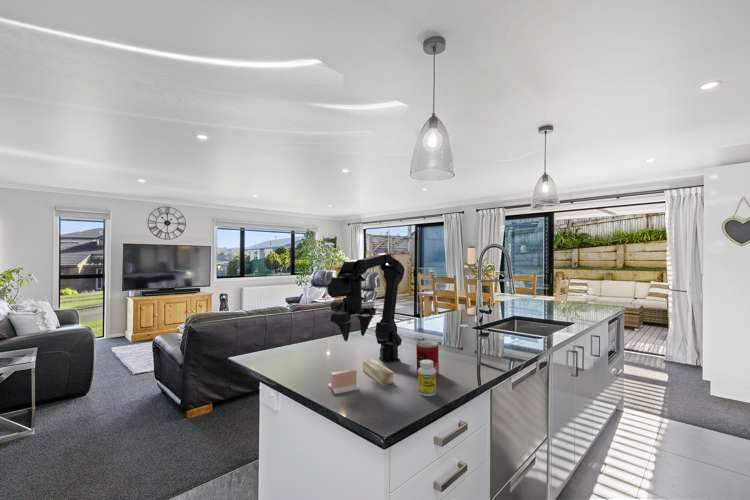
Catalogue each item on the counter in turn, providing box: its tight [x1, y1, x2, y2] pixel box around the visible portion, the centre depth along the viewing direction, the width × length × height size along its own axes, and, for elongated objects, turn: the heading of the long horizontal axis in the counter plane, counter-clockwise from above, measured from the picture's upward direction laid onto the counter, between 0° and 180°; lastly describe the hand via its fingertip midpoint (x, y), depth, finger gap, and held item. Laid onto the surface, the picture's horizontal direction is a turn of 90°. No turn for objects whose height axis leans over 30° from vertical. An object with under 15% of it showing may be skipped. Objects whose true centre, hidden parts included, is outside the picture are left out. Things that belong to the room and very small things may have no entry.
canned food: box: [415, 339, 440, 377], centre depth 119 cm, size 8×8×11 cm
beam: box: [362, 358, 394, 386], centre depth 117 cm, size 4×16×4 cm, turn 26°
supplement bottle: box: [417, 360, 437, 397], centre depth 102 cm, size 5×5×10 cm
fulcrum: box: [327, 368, 361, 395], centre depth 108 cm, size 8×7×5 cm
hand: (354, 338), depth 120 cm, fingers open, 9 cm apart
